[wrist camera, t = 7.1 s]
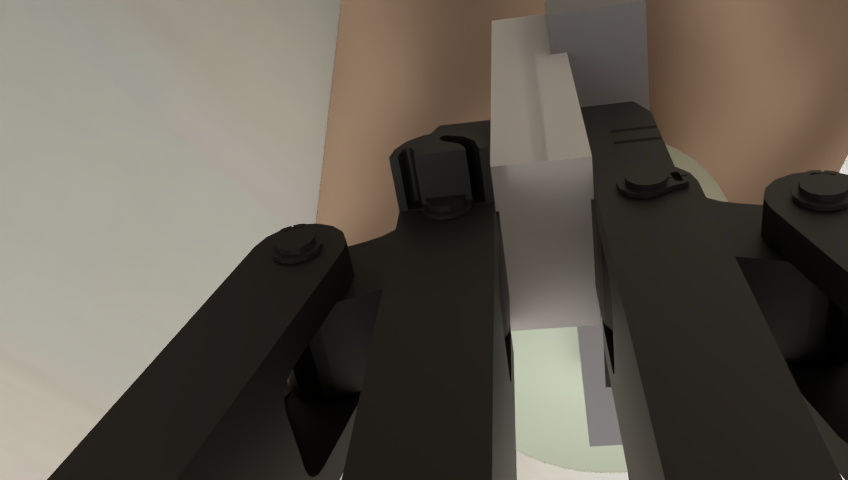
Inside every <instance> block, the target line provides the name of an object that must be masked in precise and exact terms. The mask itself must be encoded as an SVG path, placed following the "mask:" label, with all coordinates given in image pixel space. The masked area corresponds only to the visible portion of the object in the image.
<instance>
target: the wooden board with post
mask: <svg viewBox="0 0 848 480" xmlns="http://www.w3.org/2000/svg"><path fill="white" fill-rule="evenodd" d="M645 1H646V24H647V51H648V79H649V106H650V111H651V113H652V115H653V117H654V120H655V122H656V124H657V128H658V129H659V131H660V133H661V136H662V139H663V140H664V143H665V144H667V145H670V146H672V147H674V148H676V149H678V150H680V151H681V152H683V153H684V154H686V155H688V156H689V157H691V158H692V159H694V160H695V161H696V162H697V163H698V164H699V165H701V166H702V167H703V168H704V169H705V170H706V171H707V172H708V173H709V174H710V175H711V177H712V178H713V179H714V180H715V181H716V182H717V184H718V185H719V187H720V189H721V190H722V192H723V194H724V195H725V197H726V199H727V201H728V202H731V203H742V204H756V205H763V200H764V193H765V188H766V187H767V186H768V185H769V184H771V183H772V182H773V181H774V180H775V179H778V178H781V177H784V176H787V175H789V174H793V173H801V172H807V171H810V170H821V172H824V170H828V171H836V172H839V171H840V169H841V167H842V165H843V163H844V161H845V159H846V157H847V155H848V0H645ZM540 14H546V10H545V0H341V8H340V17H339V26H338V35H337V43H336V52H335V61H334V70H333V78H332V87H331V96H330V105H329V114H328V122H327V131H326V140H325V149H324V157H323V166H322V175H321V184H320V192H319V201H318V210H317V219H316V224H324V225H330V226H334V227H336V228H337V229H339V230H341V231H342V232H343V233H344V236H345V238H346V241H347V245H348V246H352V245H355V244H359V243H362V242H366V241H369V240H372V239H375V238H378V237H381V236H383V235H385V234H387V233H389V232H391V231H393V230H395V229H396V225H397V221H398V216H399V207H398V202H397V197H396V192H395V186H394V181H393V176H392V171H391V166H390V161H389V157H390V155H391V154H392V153H393V151H394V150H395V149H396V148H397V147H399V146H401V145H402V144H404V143H405V142H407V141H409V140H412V139H415V138H417V137H420V136H423V135H428V134H431V133H432V132H433V131H434V130H435V129H436V128H437V127H438V126H441V125H449V124H458V123H467V122H476V121H484V120H491V35H492V21H494V20H502V19H509V18H517V17H524V16H532V15H540Z"/></svg>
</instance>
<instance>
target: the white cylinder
mask: <svg viewBox="0 0 848 480" xmlns="http://www.w3.org/2000/svg"><path fill="white" fill-rule="evenodd" d="M545 10H546V18H547V26H548V35H549V43H550V51H551V54H559V53H567V55H568V59H569V63H570V68H571V72H572V76H573V80H574V84H575V88H576V92H577V96H578V101H579V105H580V107H587V106H596V105H605V104H613V103H622V102H631V101H634V102H635V103H637V104H639V105H641V106H642V107H644V108H646V109H647V110H649V111H650V106H649V79H648V51H647V24H646V1H645V0H545ZM665 145H666V147H667V150H668V152H669V154H670V156H671V159H672V161H673V163H674V166H675V167H678V168H680V169H682V170H685V171H687V172H690V173H691V174H692V175H693V176H694V177H695V178H696V179H697V180H698V182H699V184H700V186H701V188H702V190H703V192H704V194H705V196H706V198H710V199H714V200H718V201H723V202H728V201H727V199H726V197H725V195H724V194H723V192H722V190H721V189H720V187H719V185H718V184H717V182H716V181H715V180H714V179H713V178H712V177H711V175H710V174H709V173H708V172H707V171H706V170H705V169H704V168H703V167H702V166H701V165H699V164H698V163H697V162H696V161H695V160H694V159H692V158H691V157H689V156H688V155H686V154H684V153H683V152H681V151H680V150H678V149H676V148H674V147H672V146H670V145H667V144H665ZM600 320H601V325H589V326H576V327H563V328H550V329H534V330H521V331H511V336H512V344H513V352H514V388H515V431H516V450H517V451H519V452H520V453H522V454H524V455H526V456H528V457H531V458H534V459H536V460H539V461H541V462H544V463H547V464H551V465H554V466H558V467H561V468H566V469H572V470H577V471H584V472H596V473H624V472H628V471H627V466H626V460H625V455H624V450H623V445H622V440H621V434H620V429H619V424H618V419H617V414H616V408H615V403H614V398H613V393H612V387H606V384H605V364H604V345H603V325H602V317H601V312H600Z"/></svg>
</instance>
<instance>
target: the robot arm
mask: <svg viewBox="0 0 848 480" xmlns="http://www.w3.org/2000/svg"><path fill="white" fill-rule="evenodd" d="M389 161H390V166H391V171H392V176H393V181H394V186H395V192H396V197H397V202H398V207H399V216H398V221H397V225H396V229H395V230H393V231H391V232H389V233H387V234H385V235H383V236H381V237H378V238H375V239H372V240H369V241H366V242H362V243H359V244H355V245H352V246H348V245H347V241H346V238H345V236H344V233H343V232H342V231H341V230H339V229H337V228H336V227H334V226H330V225H324V224H298V225H294V227H291V226H290V227H286V228H283V229H281V230H280V231H279V232H277V233H274V234H272V235H270V236H268V237H266V238H265V239H264V240H263V241H261V242H260V243H259V244H258V245H256V246H255V247H254V248H253V249H252V250H251V252H250V253H249V254H248V255H247V256H246V257H245V258H244V259H243V261H242V262H241V263H240V264H239V265H238V266H237V267H236V268H235V270H234V271H233V272H232V273H231V274H230V275H229V276H228V277H227V279H226V280H225V281H224V282H223V283H222V284H221V285H220V286H219V288H218V289H217V290H216V291H215V292H214V293H213V294H212V295H211V296H210V298H209V299H208V300H207V301H206V302H205V303H204V304H203V305H202V307H201V308H200V309H199V310H198V311H197V312H196V313H195V314H194V316H193V317H192V318H191V319H190V320H189V321H188V322H187V323H186V325H185V326H184V327H183V328H182V329H181V330H180V331H179V332H178V334H177V335H176V336H175V337H174V338H173V339H172V340H171V341H170V342H169V344H168V345H167V346H166V347H165V348H164V349H163V350H162V351H161V353H160V354H159V355H158V356H157V357H156V358H155V359H154V360H153V362H152V363H151V364H150V365H149V366H148V367H147V368H146V369H145V371H144V372H143V373H142V374H141V375H140V376H139V377H138V378H137V380H136V381H135V382H134V383H133V384H132V385H131V386H130V387H129V388H128V390H127V391H126V392H125V393H124V394H123V395H122V396H121V397H120V399H119V400H118V401H117V402H116V403H115V404H114V405H113V406H112V408H111V409H110V410H109V411H108V412H107V413H106V414H105V415H104V417H103V418H102V419H101V420H100V421H99V422H98V423H97V424H96V426H95V427H94V428H93V429H92V430H91V431H90V432H89V433H88V434H87V436H86V437H85V438H84V439H83V440H82V441H81V442H80V443H79V445H78V446H77V447H76V448H75V449H74V450H73V451H72V452H71V454H70V455H69V456H68V457H67V458H66V459H65V460H64V461H63V463H62V464H61V465H60V466H59V467H58V468H57V469H56V470H55V472H54V473H53V474H52V475H51V476H50V477H49V478H48V479H47V480H339V479H340V478H341V476H342V474H343V476H342V480H517V475H516V431H515V388H514V352H513V344H512V336H511V331H521V330H534V329H550V328H563V327H576V326H589V325H601V320H600V312H601V317H602V325H603V345H604V364H605V384H606V387H612V393H613V398H614V403H615V408H616V414H617V419H618V424H619V429H620V434H621V440H622V445H623V450H624V455H625V460H626V466H627V471H628V476H629V480H843V479H842V477H843V478H844V479H845V480H848V175H846V174H841V173H839V172H836V171H828V170H824V172H821V170H810V171H807V172H801V173H793V174H789V175H787V176H784V177H781V178H778V179H775V180H774V181H773V182H772V183H771V184H769V185H768V186H767V187H766V188H765V193H764V200H763V205H756V204H742V203H731V202H723V201H718V200H714V199H710V198H706V196H705V194H704V192H703V190H702V188H701V186H700V184H699V182H698V180H697V179H696V178H695V177H694V176H693V175H692V174H691V173H690V172H687V171H685V170H682V169H680V168H678V167H675V166H674V163H673V161H672V159H671V156H670V154H669V152H668V150H667V147H666V145H665V143H664V140H663V139H662V136H661V133H660V131H659V129H658V128H657V124H656V122H655V120H654V117H653V115H652V113H651V111H649V110H647V109H646V108H644V107H642V106H641V105H639V104H637V103H635V102H634V101H631V102H622V103H613V104H605V105H596V106H587V107H580V105H579V101H578V96H577V92H576V88H575V84H574V80H573V76H572V72H571V68H570V63H569V59H568V55H567V53H559V54H551V51H550V43H549V35H548V26H547V18H546V14H540V15H532V16H524V17H517V18H509V19H502V20H494V21H492V35H491V120H484V121H476V122H467V123H458V124H449V125H441V126H438V127H437V128H436V129H435V130H434V131H433V132H432V133H431V134H428V135H423V136H420V137H417V138H415V139H412V140H409V141H407V142H405V143H404V144H402V145H401V146H399V147H397V148H396V149H395V150H394V151H393V153H392V154H391V155H390V157H389ZM840 474H841V475H842V477H841V475H840Z"/></svg>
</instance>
